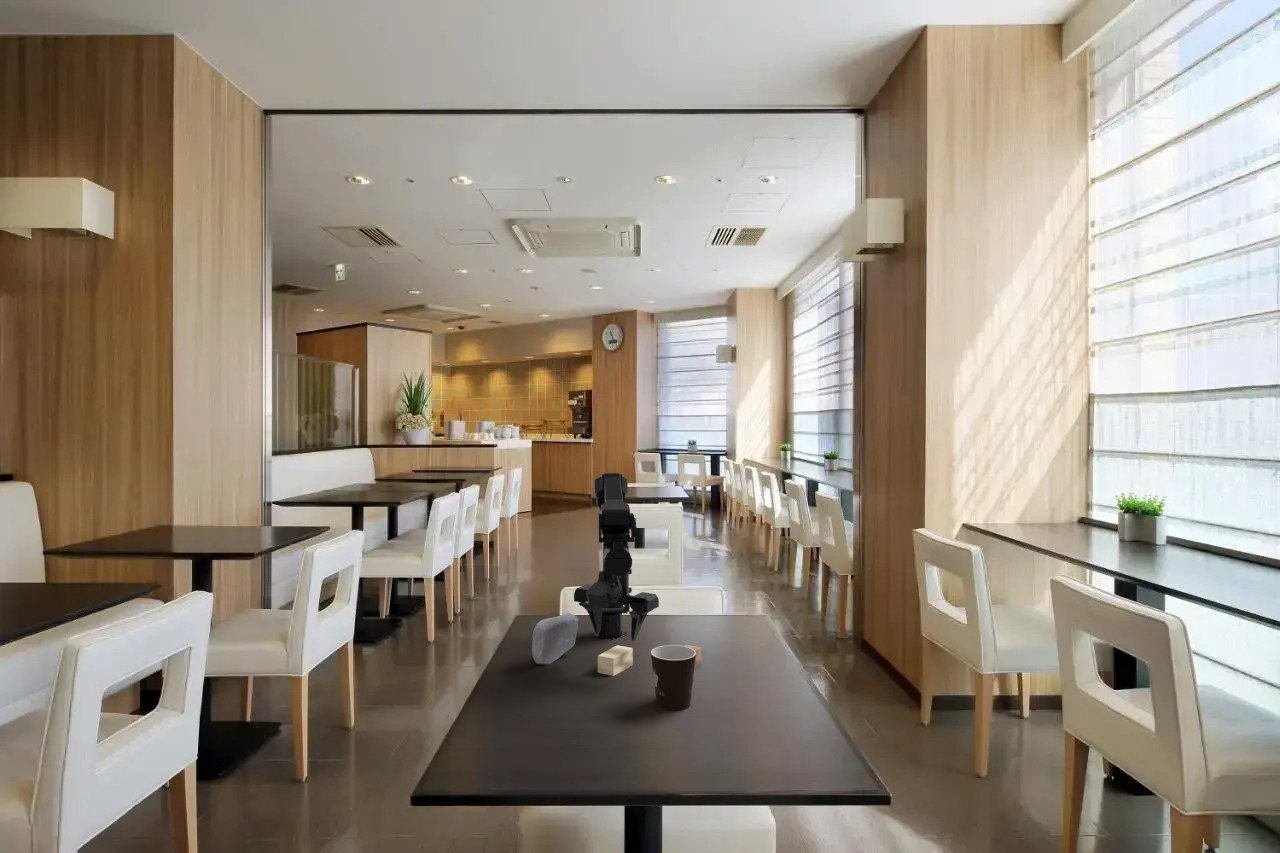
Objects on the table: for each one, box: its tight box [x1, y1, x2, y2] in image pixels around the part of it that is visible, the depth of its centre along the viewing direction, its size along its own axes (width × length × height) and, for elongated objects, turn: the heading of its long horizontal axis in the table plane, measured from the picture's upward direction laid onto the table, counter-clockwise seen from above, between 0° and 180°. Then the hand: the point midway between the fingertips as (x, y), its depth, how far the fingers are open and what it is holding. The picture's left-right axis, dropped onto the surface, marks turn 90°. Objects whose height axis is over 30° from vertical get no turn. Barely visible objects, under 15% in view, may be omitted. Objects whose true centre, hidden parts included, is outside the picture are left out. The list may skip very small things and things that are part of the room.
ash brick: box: [597, 644, 634, 677], centre depth 150 cm, size 8×4×4 cm, turn 150°
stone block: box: [531, 612, 580, 665], centre depth 154 cm, size 12×5×10 cm, turn 143°
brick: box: [683, 644, 703, 671], centre depth 150 cm, size 8×4×4 cm, turn 148°
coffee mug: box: [650, 644, 696, 712], centre depth 132 cm, size 12×9×10 cm
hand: (615, 637), depth 150 cm, fingers open, 9 cm apart
